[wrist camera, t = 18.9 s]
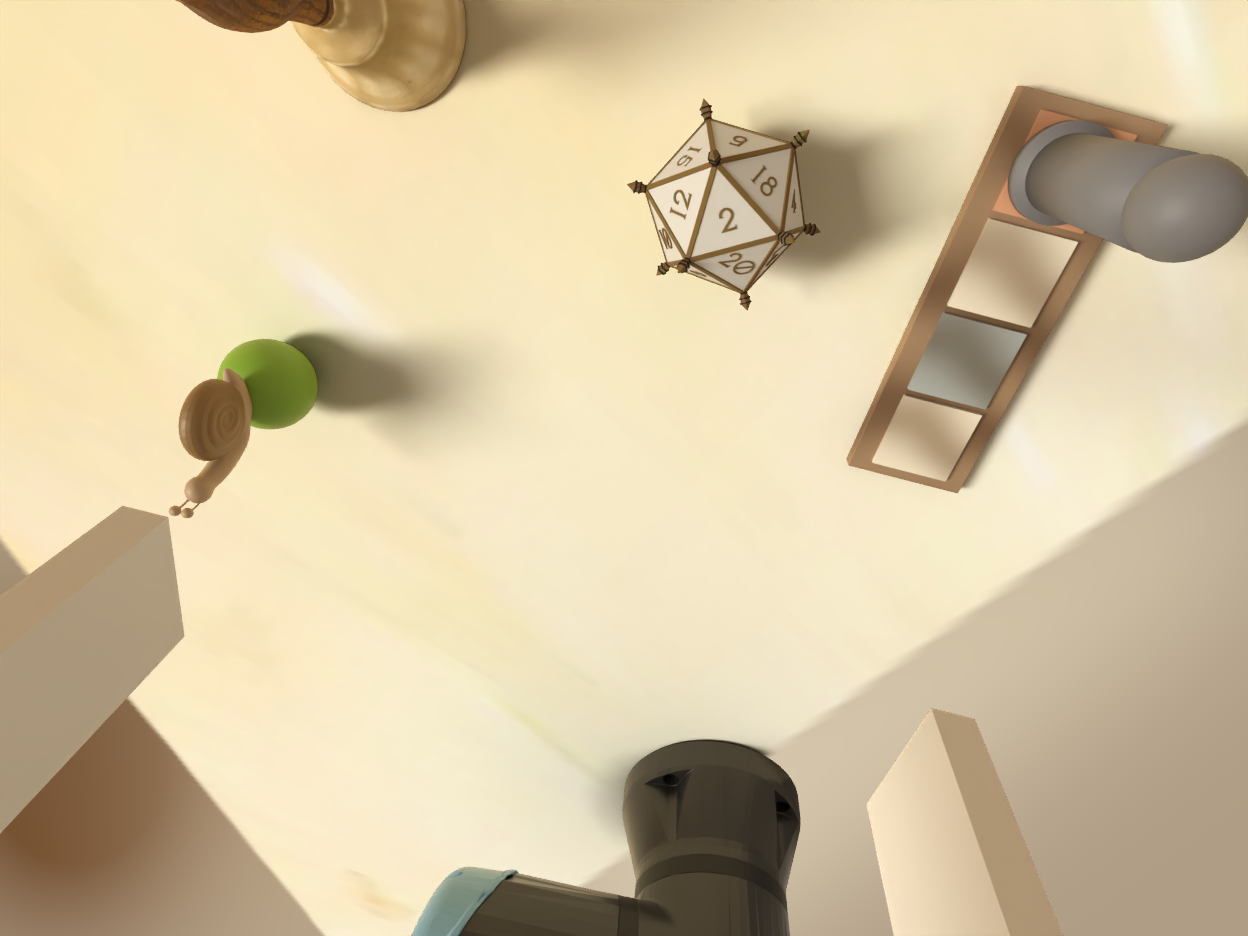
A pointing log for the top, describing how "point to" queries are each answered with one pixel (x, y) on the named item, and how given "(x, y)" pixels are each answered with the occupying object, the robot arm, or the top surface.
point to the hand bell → (363, 41)
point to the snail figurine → (242, 409)
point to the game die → (727, 204)
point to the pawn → (1129, 191)
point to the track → (981, 311)
